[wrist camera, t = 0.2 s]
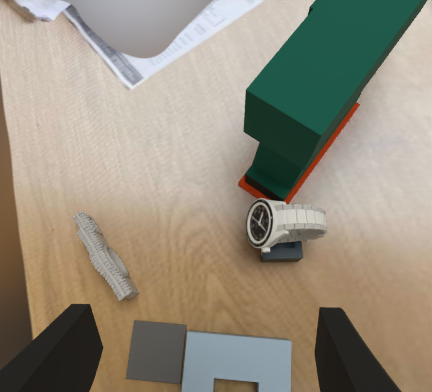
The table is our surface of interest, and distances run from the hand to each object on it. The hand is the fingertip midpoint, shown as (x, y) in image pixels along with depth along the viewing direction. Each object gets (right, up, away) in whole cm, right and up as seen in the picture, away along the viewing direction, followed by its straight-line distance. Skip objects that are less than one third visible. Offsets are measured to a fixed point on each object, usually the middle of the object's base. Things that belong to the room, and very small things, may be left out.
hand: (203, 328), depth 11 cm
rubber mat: (-6, -13, +28) cm, 32 cm away
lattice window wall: (-12, -3, +32) cm, 34 cm away
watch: (+8, -1, +31) cm, 32 cm away
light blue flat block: (+2, -18, +26) cm, 32 cm away
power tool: (+15, +16, +37) cm, 43 cm away
